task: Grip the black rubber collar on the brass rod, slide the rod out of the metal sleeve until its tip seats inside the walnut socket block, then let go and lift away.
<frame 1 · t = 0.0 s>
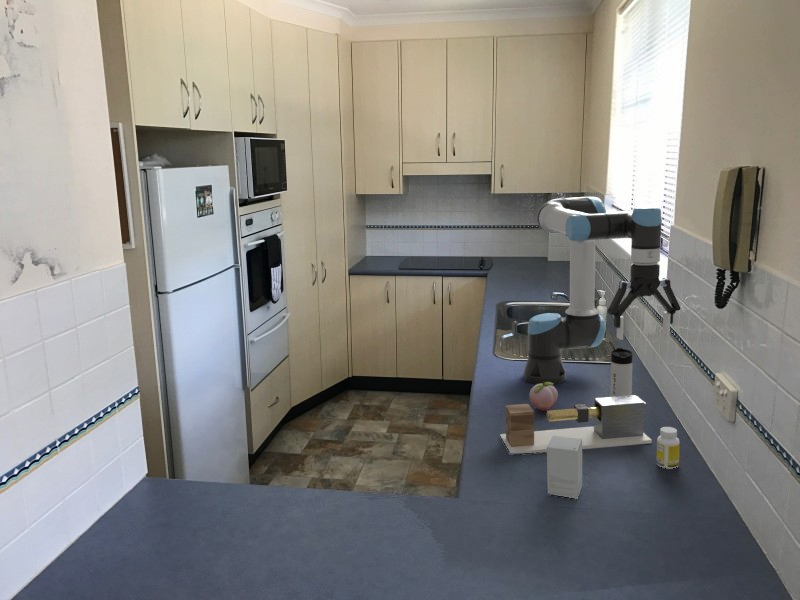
hand: (643, 336, 185), 28 cm above the worktop, tool pointing down, fingers open, 13 cm apart
base board: (574, 440, 186), on the worktop
brass rod: (593, 412, 185), point 8 cm above the worktop, slide at 0.0 cm
travel mug: (620, 412, 204), on the worktop
supplement box: (564, 491, 159), on the worktop
decorative fruit: (542, 411, 208), on the worktop
walnut socket: (519, 444, 185), resting on base board
metal sleeve: (618, 436, 187), resting on base board
supplement bottle: (667, 465, 169), on the worktop
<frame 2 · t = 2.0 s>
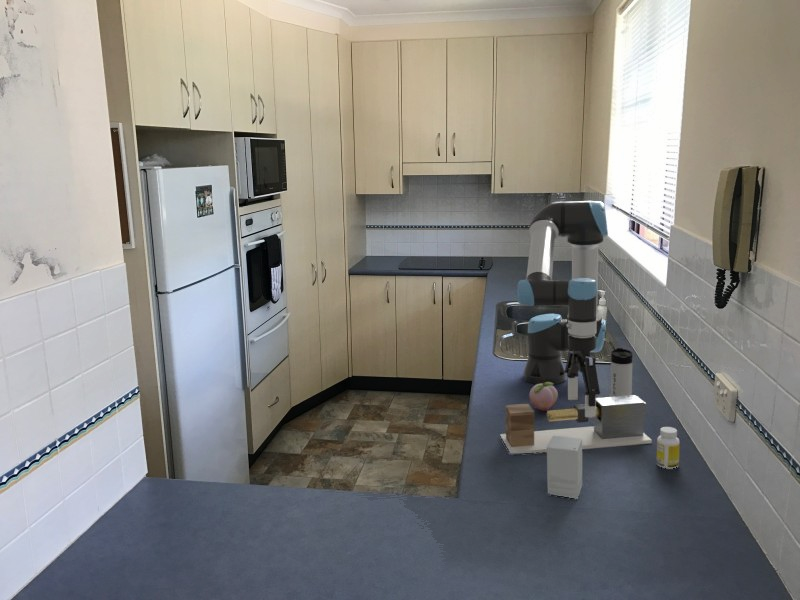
hand: (581, 407, 184), 10 cm above the worktop, tool pointing down, fingers open, 13 cm apart
nothing on the worktop moved.
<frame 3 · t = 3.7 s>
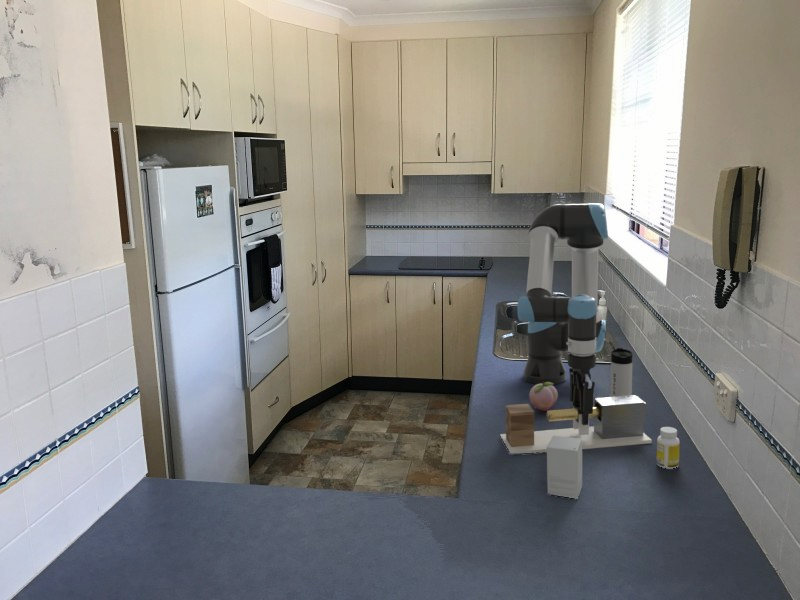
hand: (581, 431, 185), 3 cm above the worktop, tool pointing down, fingers closed on brass rod, 3 cm apart
brass rod: (593, 412, 185), point 8 cm above the worktop, slide at 0.0 cm, touching gripper
everything else where it was.
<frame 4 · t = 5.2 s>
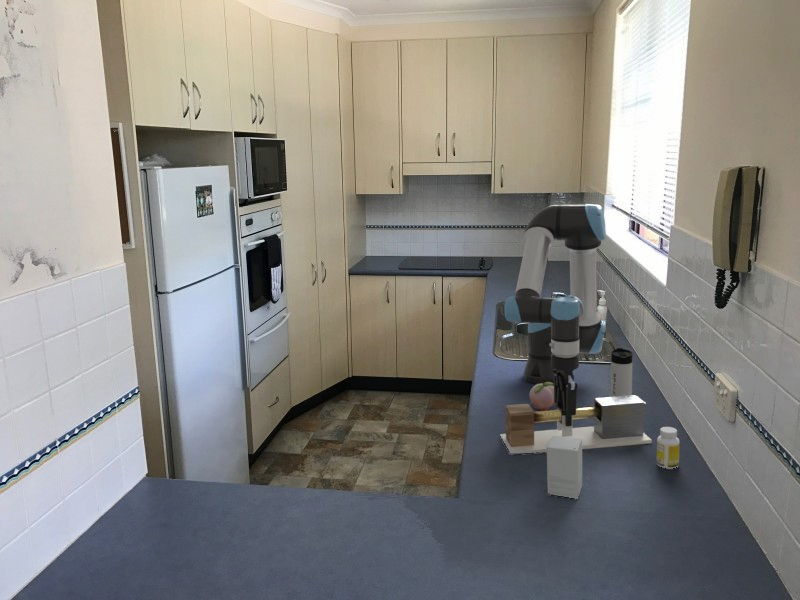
hand: (564, 432, 185), 3 cm above the worktop, tool pointing down, fingers closed on brass rod, 3 cm apart
brass rod: (576, 413, 184), point 8 cm above the worktop, slide at 4.8 cm, touching gripper
everything else where it was.
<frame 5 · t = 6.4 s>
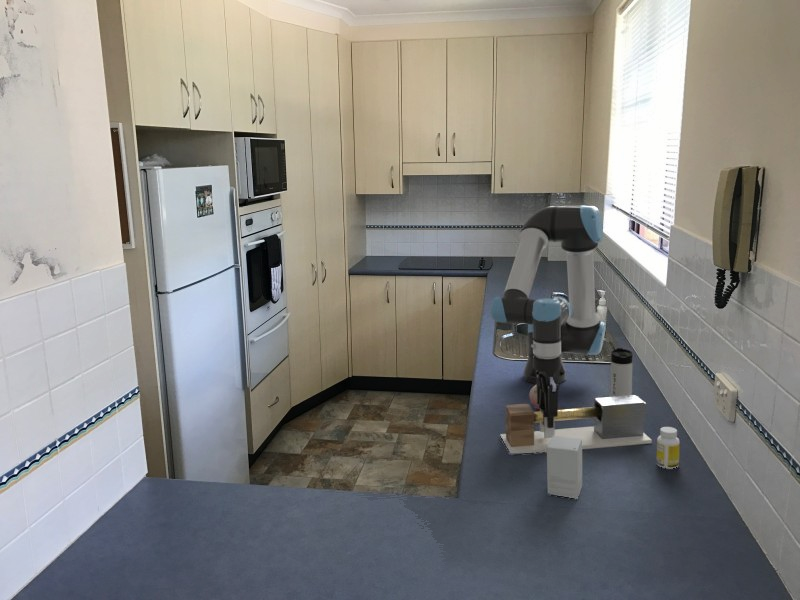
hand: (547, 434, 185), 3 cm above the worktop, tool pointing down, fingers closed on brass rod, 3 cm apart
brass rod: (559, 415, 184), point 8 cm above the worktop, slide at 9.9 cm, touching gripper
everything else where it was.
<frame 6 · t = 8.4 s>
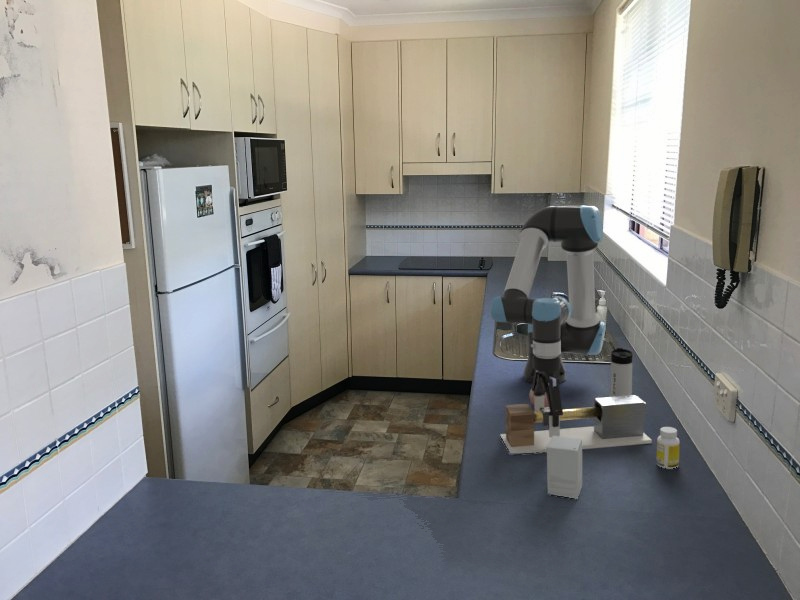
hand: (546, 426, 184), 5 cm above the worktop, tool pointing down, fingers open, 13 cm apart
brass rod: (558, 415, 184), point 8 cm above the worktop, slide at 10.0 cm
everything else where it was.
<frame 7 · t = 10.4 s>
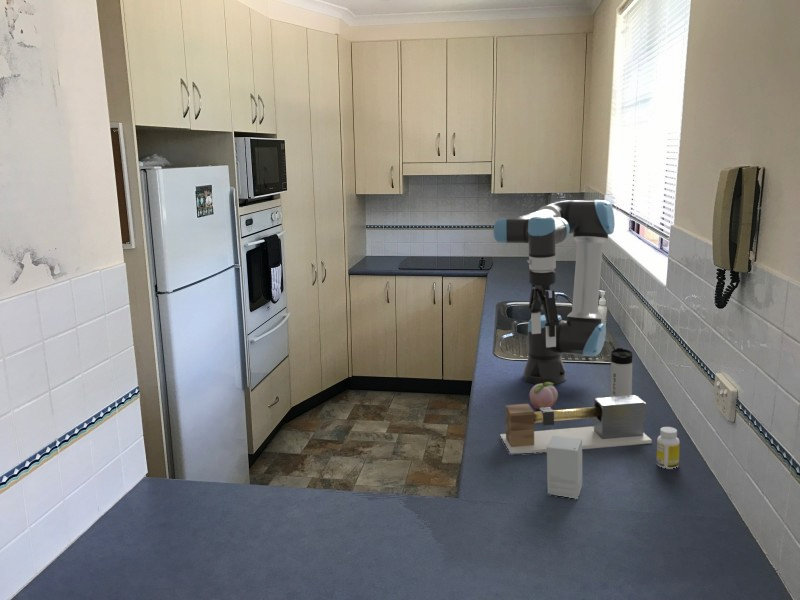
hand: (543, 339, 194), 26 cm above the worktop, tool pointing down, fingers open, 13 cm apart
nothing on the worktop moved.
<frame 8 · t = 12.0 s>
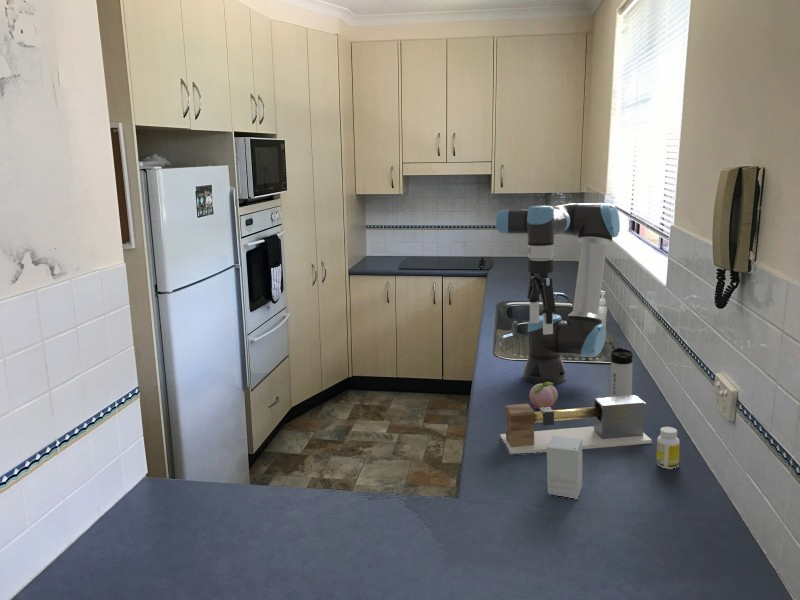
hand: (541, 328, 197), 29 cm above the worktop, tool pointing down, fingers open, 13 cm apart
nothing on the worktop moved.
at the end: brass rod slide at 10.0 cm; the gripper is holding nothing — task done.
